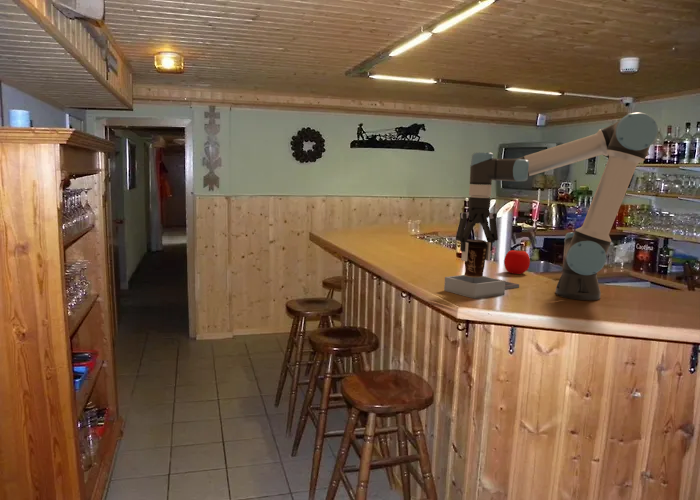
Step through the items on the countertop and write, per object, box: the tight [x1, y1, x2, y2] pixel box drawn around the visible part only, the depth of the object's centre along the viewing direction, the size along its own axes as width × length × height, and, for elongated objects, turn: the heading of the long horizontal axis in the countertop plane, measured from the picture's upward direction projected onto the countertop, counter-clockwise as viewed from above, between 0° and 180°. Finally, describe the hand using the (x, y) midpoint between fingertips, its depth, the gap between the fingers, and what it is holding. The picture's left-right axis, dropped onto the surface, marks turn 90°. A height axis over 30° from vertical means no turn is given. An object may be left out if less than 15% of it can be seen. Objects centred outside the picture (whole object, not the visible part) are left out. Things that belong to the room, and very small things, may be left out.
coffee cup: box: [464, 238, 488, 278], centre depth 195 cm, size 9×8×13 cm
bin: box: [443, 274, 506, 300], centre depth 196 cm, size 15×15×5 cm
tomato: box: [503, 248, 531, 275], centre depth 238 cm, size 10×11×11 cm
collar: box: [504, 280, 520, 290], centre depth 210 cm, size 15×15×1 cm
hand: (475, 260), depth 195 cm, fingers closed on coffee cup, 8 cm apart
